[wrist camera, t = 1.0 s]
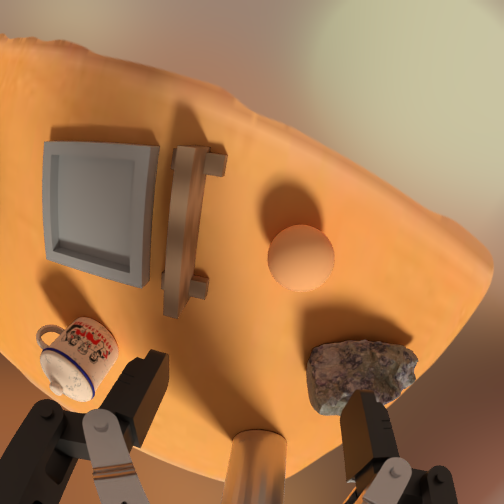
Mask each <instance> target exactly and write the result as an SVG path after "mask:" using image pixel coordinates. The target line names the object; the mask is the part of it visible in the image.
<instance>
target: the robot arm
mask: <svg viewBox="0 0 504 504" xmlns="http://www.w3.org/2000/svg"><path fill="white" fill-rule="evenodd" d="M168 382H169V355H168V354H166V353H162V352H159V351H156V350H152V349H151V350H150V351H149V353H148V354H147V356H146V358H145V359H141V358H138V357H137V358H135V359H134V360H132V361H131V362H129V363H128V364H127V365H126V367H125V368H124V370H123V371H122V374H121V375H120V376H119V378H118V380H117V381H116V382H115V384H114V386H113V387H112V389H111V390H110V392H109V393H108V395H107V397H106V398H105V400H104V401H103V403H102V405H101V406H100V407H99V408H98V409H94V410H91V411H89V412H88V413H76V412H70V411H65V410H63V409H62V408H61V406H60V405H59V404H58V403H57V402H56V401H53V400H50V399H44V400H40V401H38V402H37V403H36V404H35V405H34V406H33V407H32V409H31V410H30V412H29V413H28V415H27V417H26V418H25V419H24V421H23V423H22V424H21V426H20V427H19V429H18V431H17V432H16V434H15V435H14V437H13V438H12V440H11V442H10V443H9V445H8V447H7V448H6V450H5V452H4V454H3V456H2V457H1V459H0V504H59V502H60V499H61V497H62V495H63V492H64V490H65V488H66V485H67V483H68V481H69V478H70V476H71V474H72V472H73V469H74V467H75V465H76V463H77V461H78V459H79V458H80V459H85V460H91V463H92V467H93V479H94V483H95V486H96V489H97V492H98V495H99V498H100V501H101V503H102V504H150V503H149V501H148V499H147V497H146V494H145V492H144V490H143V488H142V485H141V483H140V480H139V478H138V476H137V473H136V471H135V468H134V466H133V463H132V460H131V458H130V455H129V453H130V451H131V449H132V447H133V446H136V447H138V448H141V446H142V444H143V441H144V439H145V437H146V435H147V432H148V430H149V428H150V425H151V423H152V421H153V419H154V416H155V414H156V412H157V410H158V408H159V405H160V403H161V401H162V399H163V396H164V394H165V392H166V390H167V386H168ZM340 426H341V434H342V442H343V451H344V460H345V470H346V481H347V482H356V487H355V488H354V489H353V491H352V492H351V493H350V495H349V496H348V497H347V498H346V500H345V501H344V502H343V504H458V502H457V497H456V492H455V488H454V483H453V479H452V475H451V473H450V471H449V470H448V469H447V468H446V467H444V466H434V467H433V468H431V469H430V470H429V471H422V470H417V469H413V468H411V467H410V465H409V463H408V462H407V461H406V460H404V459H402V458H400V456H399V453H398V449H397V445H396V441H395V437H394V433H393V430H392V425H391V422H390V418H389V415H388V411H387V409H386V408H385V407H384V405H383V404H382V403H381V402H377V401H376V397H375V394H374V391H372V390H359V389H356V390H355V391H354V393H353V394H352V396H351V397H350V399H349V401H348V402H347V404H346V405H345V407H344V409H343V410H342V413H341V417H340ZM286 449H287V442H286V440H285V439H284V438H283V437H282V436H280V435H279V434H276V433H273V432H270V431H264V430H249V431H244V432H241V433H239V434H237V435H236V436H235V437H234V439H233V444H232V450H231V455H230V459H229V465H228V470H227V475H226V480H225V485H224V490H223V495H222V500H221V504H284V488H285V470H286Z"/></svg>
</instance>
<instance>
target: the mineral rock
mask: <svg viewBox="0 0 504 504" xmlns="http://www.w3.org/2000/svg"><path fill="white" fill-rule="evenodd" d="M417 362H418V358H417V357H416V355H415V354H414V353H413V351H411V350H410V349H406V347H405V346H403V345H397V344H388V343H382V342H381V341H377V342H371V341H367V340H366V339H364V340H361V341H353V340H348V341H344V342H341V343H331V344H323V345H321V346H319V347H315V348H314V349H313V350H312V352H311V356H310V359H309V360H308V363H307V370H306V376H307V387H308V394H309V399H310V403H311V405H312V407H313V408H314V409H315V410H316V411H317V412H318V413H319V414H321V415H327V416H329V415H339V416H341V413H342V410H343V409H344V407H345V405H346V404H347V402H348V401H349V399H350V397H351V396H352V394H353V393H354V391H355V390H356V389H359V390H372V391H374V394H375V397H376V401H377V402H381V403H382V404H383V405H385V404H387V403H389V402H391V401H393V400H395V399H396V398H398V397H399V396H400V394H401V391H402V390H403V389H405V388H407V387H408V386H410V385H412V384H413V383H414V382H415V380H416V377H415V374H414V368H415V366H416V364H417Z"/></svg>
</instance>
